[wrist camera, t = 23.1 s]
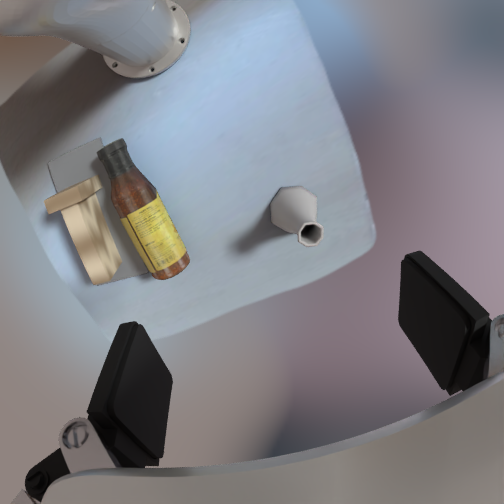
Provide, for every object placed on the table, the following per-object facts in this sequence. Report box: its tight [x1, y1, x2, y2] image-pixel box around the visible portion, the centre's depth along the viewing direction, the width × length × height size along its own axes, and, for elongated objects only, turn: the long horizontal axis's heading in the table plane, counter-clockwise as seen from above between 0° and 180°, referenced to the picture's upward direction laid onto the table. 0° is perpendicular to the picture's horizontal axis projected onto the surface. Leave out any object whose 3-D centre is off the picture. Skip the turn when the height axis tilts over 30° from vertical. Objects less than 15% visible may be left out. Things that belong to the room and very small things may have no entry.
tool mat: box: [48, 138, 149, 286], centre depth 41 cm, size 22×10×1 cm, turn 13°
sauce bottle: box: [97, 138, 190, 280], centre depth 38 cm, size 6×6×20 cm
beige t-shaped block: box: [44, 175, 122, 285], centre depth 38 cm, size 14×6×7 cm, turn 13°
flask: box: [270, 186, 324, 247], centre depth 39 cm, size 7×7×10 cm
